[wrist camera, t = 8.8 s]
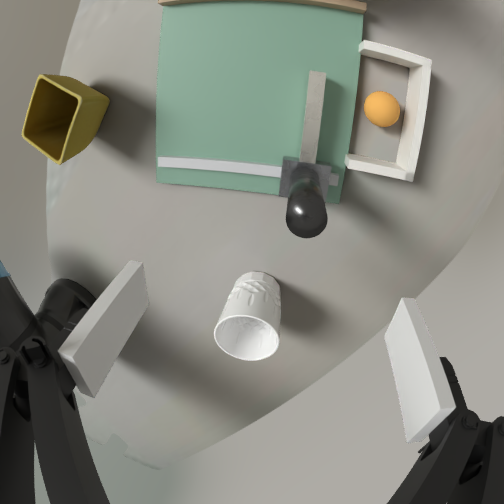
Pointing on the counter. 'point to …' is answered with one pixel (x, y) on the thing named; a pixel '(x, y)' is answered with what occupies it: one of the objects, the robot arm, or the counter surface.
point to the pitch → (252, 89)
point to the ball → (381, 109)
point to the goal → (412, 115)
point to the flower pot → (63, 116)
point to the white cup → (251, 318)
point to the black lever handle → (307, 170)
